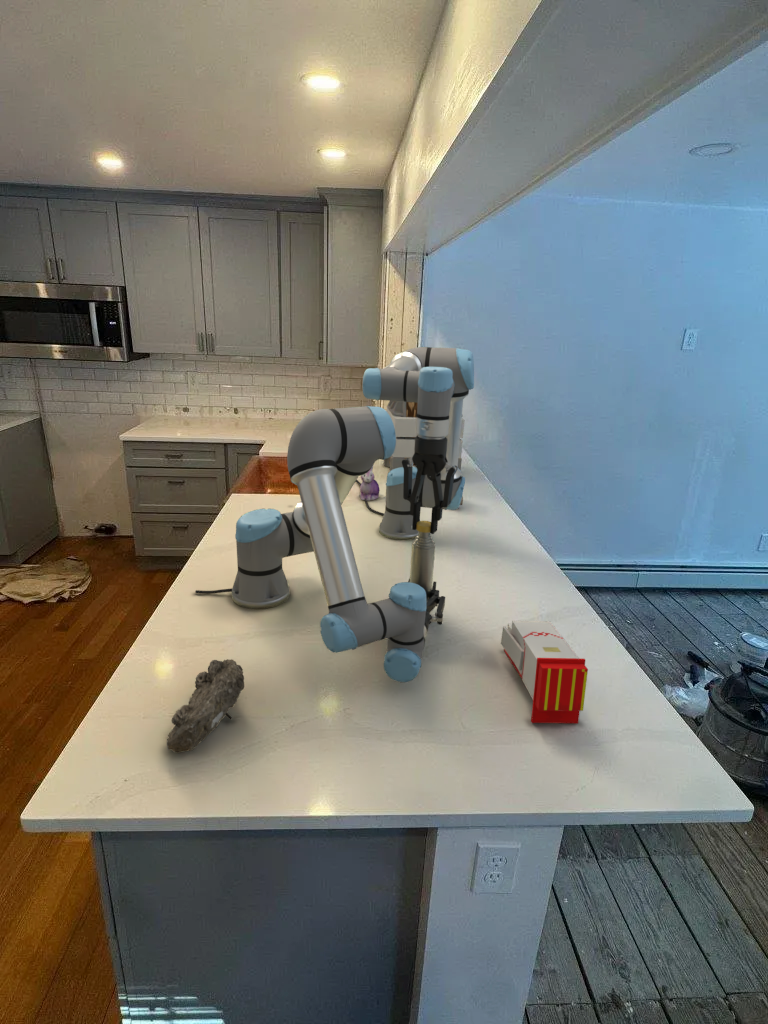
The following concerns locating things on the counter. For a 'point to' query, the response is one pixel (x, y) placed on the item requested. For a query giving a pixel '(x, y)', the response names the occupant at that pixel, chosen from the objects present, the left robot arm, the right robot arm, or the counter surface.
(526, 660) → the toy
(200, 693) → the fossil
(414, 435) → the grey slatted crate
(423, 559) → the bottle
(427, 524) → the cap
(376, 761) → the counter surface
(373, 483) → the figurine
